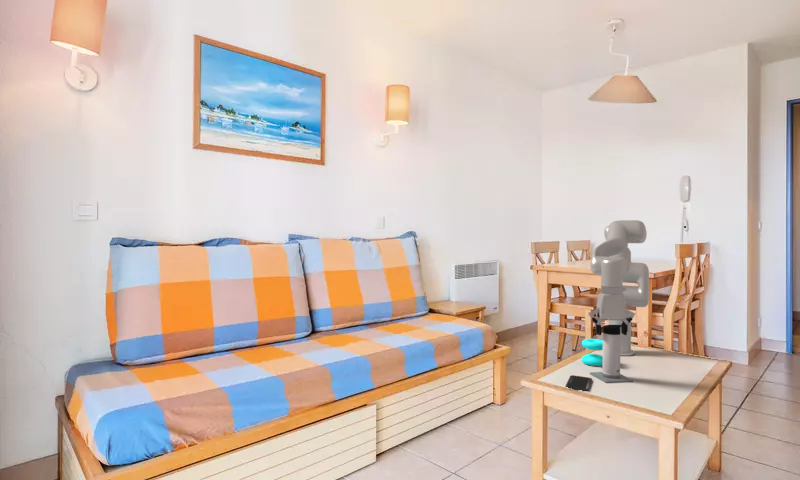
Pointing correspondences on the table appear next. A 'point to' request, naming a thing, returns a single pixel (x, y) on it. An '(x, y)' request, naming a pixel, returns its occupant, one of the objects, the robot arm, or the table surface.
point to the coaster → (611, 380)
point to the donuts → (593, 358)
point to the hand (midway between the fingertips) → (611, 334)
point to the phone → (579, 383)
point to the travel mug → (611, 351)
